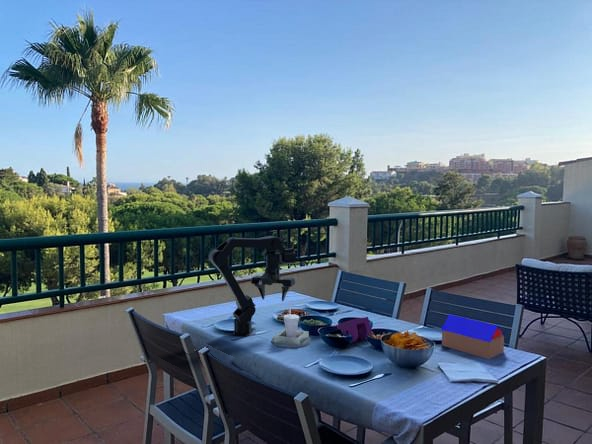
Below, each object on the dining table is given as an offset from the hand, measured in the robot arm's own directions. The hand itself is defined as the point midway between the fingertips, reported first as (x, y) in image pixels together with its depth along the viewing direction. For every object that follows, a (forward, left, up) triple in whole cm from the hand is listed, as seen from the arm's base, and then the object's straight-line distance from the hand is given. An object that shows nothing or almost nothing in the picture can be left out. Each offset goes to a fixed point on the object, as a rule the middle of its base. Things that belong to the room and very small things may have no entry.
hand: (273, 300), depth 201 cm
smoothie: (+13, -12, -13) cm, 22 cm away
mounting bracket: (+33, +2, -14) cm, 36 cm away
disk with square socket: (+13, -12, -13) cm, 22 cm away
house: (+82, +3, -14) cm, 83 cm away
